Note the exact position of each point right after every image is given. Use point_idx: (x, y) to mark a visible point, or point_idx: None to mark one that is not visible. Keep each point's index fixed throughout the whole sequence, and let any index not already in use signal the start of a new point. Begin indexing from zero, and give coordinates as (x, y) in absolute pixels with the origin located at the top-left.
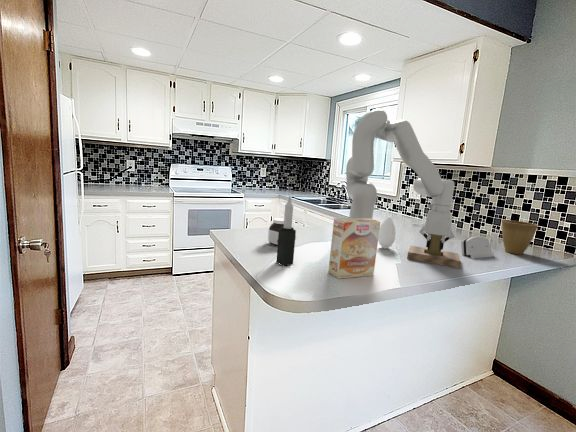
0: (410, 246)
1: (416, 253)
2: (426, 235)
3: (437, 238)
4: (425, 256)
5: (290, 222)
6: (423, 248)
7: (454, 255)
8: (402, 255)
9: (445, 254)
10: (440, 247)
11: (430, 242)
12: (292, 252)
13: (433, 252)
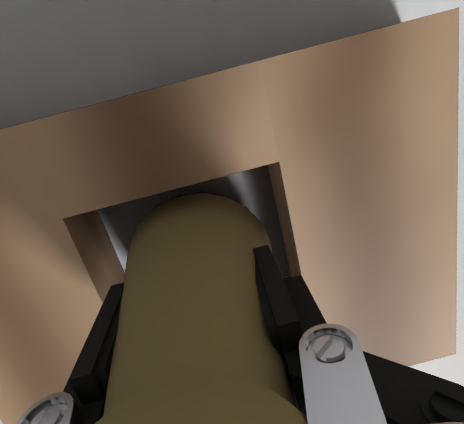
0: (453, 311)
1: (350, 37)
2: (410, 420)
3: (127, 405)
4: (233, 68)
5: None
6: None
7: (11, 363)
8: (459, 119)
9: (86, 321)
10: (107, 317)
11: (262, 321)
12: None
13: (182, 223)
